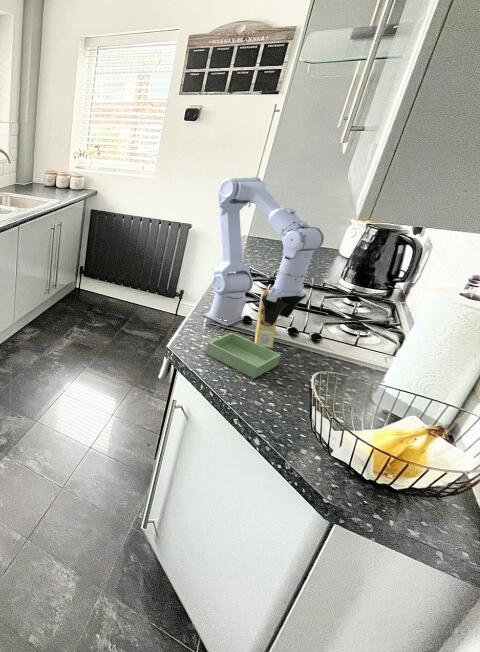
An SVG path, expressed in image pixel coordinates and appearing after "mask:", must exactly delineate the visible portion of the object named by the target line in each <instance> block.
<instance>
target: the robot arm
mask: <svg viewBox="0 0 480 652" xmlns="http://www.w3.org/2000/svg"><path fill="white" fill-rule="evenodd" d="M217 198H218V222H219V223H218V224H219V237H220V238H219V239H220V242H219V243H220V253H221V254H220V255H221V256H220V257H221V264H220V265H218V266H217V267H216V268H215V269H214V270H213V277H212V282H211V286H212V288H213V290H214V292H215V293H214V297H213V300H212V304H211V308H210V311H208V312H206V313H203V317H205V318H208V319H210V320H212V321H213V322H217V323H218V324H221V325H224V326H225V327H228V326H231V325H233V324H235V323H238V322H240V321H242V320H244V319H245V318H244V316H242V314H243V312H244V309H245V305H246V303H247V297H246V293H247V292H250V291H251V290H252V288H253V285H254V278H253V277H252V275H251V268H250V266H248V265H247V264H245V263H244V262H243V246H242V232H241V210H242V209H243V208H244V207H246V206H247V205H248V204H250V203H251V202H252V203H253V204H254V205H255V206H256V207H257V208H258V209H260V211H262V212H263V213H264V214H266V215H267V216H268V219H267V223H268V224H269V225H270V226H271V227H272V228H273V229H274V230H275V232H276V233H277V234H278V235H279V236H280V237H281V238H282V239H281V243H282V246H283V249H282V255H283V256H282V259H281V262H280V265H279V269H278V271H277V275H276V277H275V280H274V284H273V285H272V287H271V289H270V290H271V292H269V293H268V295H265V296H262V302H263V304H264V310H265V322H267V323H270V324H274V323H275V322H276V320H277V321H278V318H279V316H281V317H284V318H287V319H288V318H289V317H290V316H291V315H292V313H293V312H294V310H295V309H296V308H297V306H298V305H299V304H300V303H301V301H302V300H304V299H305V298H306V297H307V294H306V293H305V292H304V291H303V289H304V287H305V284H304V281H305V278H306V275H307V272H308V269H309V266H310V263H311V261H312V257H313V254H314V251H315V250H318V249H319V248H321V246H322V245H323V244H324V241H325V236H324V233H323V232H322V230H321V229H320V228H319V227H318V226H317V227H316V226H310V225H308V222H306V221H304V220H303V219H301V218H300V216H299V215H298V214H297V213H296V210H295V209H294V208H289V207H282V206H281V205H280V204H279V203H278V201H277V200H276V199H275V198H274V197H273V196H272V195H271V193H270V192H269V191H268V190H267V188H266V182H264V181H262V179H261V178H260V177H258V176H252V177H227V178H225V179H223V180H222V181H221V183H220V184H219V186H218V187H217ZM217 318H218V319H217ZM219 319H221V320H219ZM224 320H227V321H224Z"/></svg>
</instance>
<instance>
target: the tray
mask: <svg viewBox="0 0 480 652" xmlns="http://www.w3.org/2000/svg"><path fill="white" fill-rule="evenodd" d="M204 354H206V355H208V356H209V357H211V358H213V359H216V360H218V361H219V362H221V363H222V364H225V365H226V366H229V367H231V368H232V369H235V370H237V371H238V372H240V373H243V374H244V375H245V376H248V377H250V378H251V379H256V378H258V377H259V376H262V375H263V374H265V373H267V372H269V371H270V370H273V369H274V368H276V367H277V366H278V364H279V362H280V360H281V357H282V354H281V353H278V352H276V351H274V350H272V349H271V348H266V347H263V346H261V345H259V344H256V343H255V341H252V340H250V339H248V338H245V337H243V336H241V335H238V334H237V333H234V332H232V331H231V332H229V333H226V334H225V335H222V336H220V337H218V338H215V339H213V340H211V341H209V342H207V345H206V349H205V353H204Z"/></svg>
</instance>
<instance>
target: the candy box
mask: <svg viewBox="0 0 480 652" xmlns="http://www.w3.org/2000/svg"><path fill="white" fill-rule="evenodd" d="M271 290H272V289H261V291H260V297H259V303H258V304H259V305H258V310H257V311H258V312H257V318H256V325H255V331H254V332H255V333H254V341H253V342H254V343H256V344H259V345H261V346H263V347H265V348H267V349H273V348H274V342H275V341H274V340H275V336H276V328H277V321H278V319H277V320H276V322H275V323H274V324H270V323H267V322H265V310H264V304H263V302H262V296H265V295H268V293H269V292H271Z"/></svg>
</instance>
